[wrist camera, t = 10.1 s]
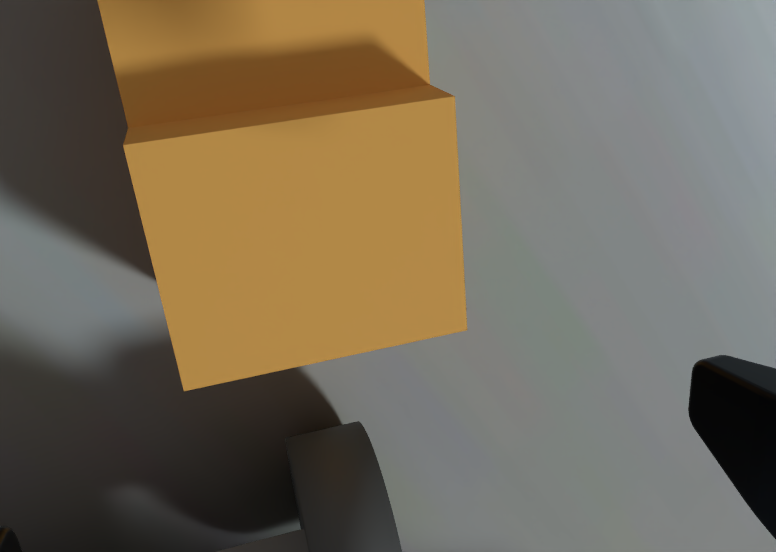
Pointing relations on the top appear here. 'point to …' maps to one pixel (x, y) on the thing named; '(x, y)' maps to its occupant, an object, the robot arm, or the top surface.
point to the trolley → (335, 496)
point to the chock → (290, 178)
